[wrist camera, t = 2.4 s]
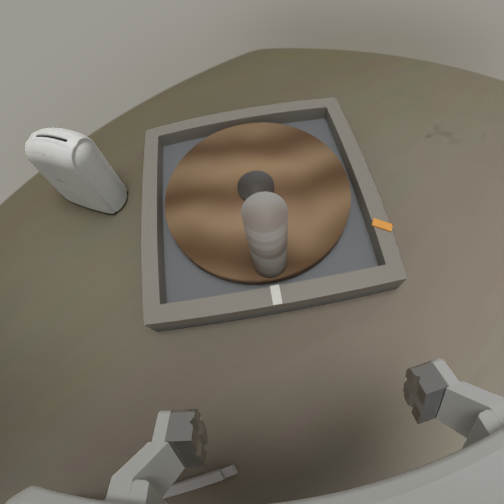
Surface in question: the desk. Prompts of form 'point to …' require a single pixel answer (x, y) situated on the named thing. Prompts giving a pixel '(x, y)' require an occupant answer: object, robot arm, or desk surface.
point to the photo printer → (76, 169)
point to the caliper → (199, 481)
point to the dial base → (268, 295)
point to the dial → (258, 203)
